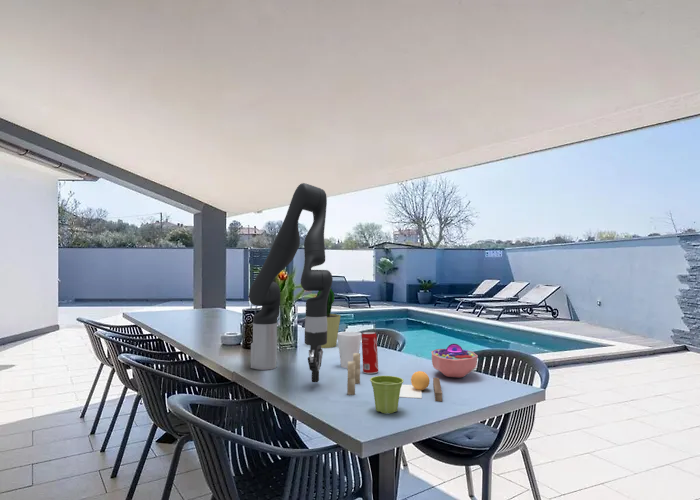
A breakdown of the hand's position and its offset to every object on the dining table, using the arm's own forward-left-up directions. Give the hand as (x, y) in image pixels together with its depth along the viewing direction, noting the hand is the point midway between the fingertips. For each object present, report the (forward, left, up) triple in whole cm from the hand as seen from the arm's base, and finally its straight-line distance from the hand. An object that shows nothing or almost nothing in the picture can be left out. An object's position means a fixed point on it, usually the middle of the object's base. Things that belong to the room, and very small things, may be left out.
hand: (315, 381), depth 153 cm
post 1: (+13, -6, -2) cm, 15 cm away
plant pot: (+25, -20, -2) cm, 32 cm away
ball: (+35, +2, +2) cm, 35 cm away
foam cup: (+7, +30, -2) cm, 31 cm away
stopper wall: (+40, 0, -2) cm, 40 cm away
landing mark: (+28, 0, -2) cm, 28 cm away
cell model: (+47, +23, -2) cm, 52 cm away
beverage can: (+16, +22, -2) cm, 27 cm away
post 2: (+13, +6, -2) cm, 15 cm away
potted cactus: (-11, +70, -2) cm, 71 cm away
